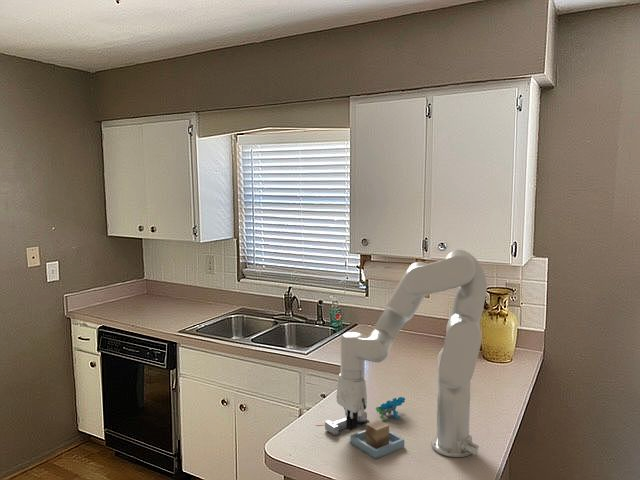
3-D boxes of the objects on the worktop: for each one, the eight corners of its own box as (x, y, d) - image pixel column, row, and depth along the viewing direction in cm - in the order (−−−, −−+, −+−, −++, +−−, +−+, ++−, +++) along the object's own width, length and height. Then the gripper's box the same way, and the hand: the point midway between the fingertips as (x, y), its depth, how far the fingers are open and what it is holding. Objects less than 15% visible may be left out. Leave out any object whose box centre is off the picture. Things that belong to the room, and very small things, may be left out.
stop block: (389, 444, 160) (389, 425, 159) (376, 449, 157) (376, 430, 156) (377, 437, 164) (377, 419, 163) (365, 442, 161) (365, 423, 160)
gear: (399, 403, 186) (407, 392, 178) (406, 419, 183) (414, 408, 175) (371, 412, 183) (377, 401, 175) (378, 428, 180) (384, 418, 172)
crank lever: (360, 416, 179) (360, 409, 178) (370, 421, 175) (370, 414, 174) (325, 429, 170) (324, 421, 170) (334, 435, 166) (334, 427, 166)
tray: (404, 447, 159) (404, 439, 159) (375, 459, 152) (375, 451, 152) (378, 432, 169) (378, 424, 168) (350, 443, 162) (350, 435, 162)
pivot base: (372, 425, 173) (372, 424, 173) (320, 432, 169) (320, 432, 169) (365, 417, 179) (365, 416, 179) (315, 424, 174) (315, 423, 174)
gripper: (328, 367, 167) (328, 422, 169) (358, 382, 155) (357, 441, 157) (346, 362, 172) (346, 416, 174) (377, 377, 160) (376, 434, 162)
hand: (351, 428), depth 166 cm, fingers closed
